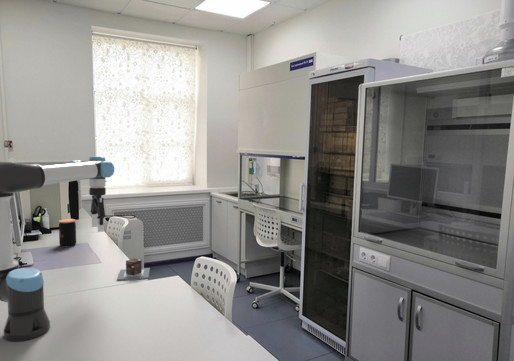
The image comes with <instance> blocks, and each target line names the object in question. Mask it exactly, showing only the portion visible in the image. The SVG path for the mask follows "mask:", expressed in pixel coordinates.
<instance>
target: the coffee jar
mask: <svg viewBox="0 0 514 361" xmlns="http://www.w3.org/2000/svg"><path fill="white" fill-rule="evenodd" d="M58 223H59V224H58V237H59V238H58V239H59V243H58V244H59V245H60V247H61V246H70V247H74V246H76V244H77V224H76V219H74V218H65V219H60V220H58ZM73 245H74V246H73Z"/></svg>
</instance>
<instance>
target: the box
mask: <svg viewBox="0 0 514 361" xmlns="http://www.w3.org/2000/svg"><path fill="white" fill-rule="evenodd" d="M142 261H143V260H142V259H140V258H135V257H133V258H130V259H128V260H125V269H126V274H129V275H136V274H139V273H141V272H142Z"/></svg>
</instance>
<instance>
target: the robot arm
mask: <svg viewBox="0 0 514 361" xmlns="http://www.w3.org/2000/svg"><path fill="white" fill-rule="evenodd" d="M114 173H115V165H114V163H112V162H111V161H108V160H107V161H106V157H105V156H95V155H94V156H93V155H92V156H89V158H88V159H85V160H84V159H83V160H82V159H81V160H80V159H73V160H70V161H68V163H62V164H61V163H60V164H50V165H48V164H47V165H41V164H39V163H22V162H21V163H20V162H12V161H11V162H10V161H0V302H4V303H7V314H8V315H7V318H6V322H5V324H4V325H5V326H4V327H3V338H4V339H5V340H6V341H9V342H24V341H28V340H31V339H36V338H38V337H40V336H42V335H44V334H46V333H47V332H48V331H49V330H50V328H51V321H50V318H49V316H48V314H47V312H46V310H45V298H44V296H45V295H44V276H43V273H42V272H41V271H40V270H39V269H38V268H32V267H28V268H27V267H21V268H20V266H19V262H18V261H17V260H16V259H15V258H14V245H13V243H14V242H13V233H12V220H11V219H12V218H11V216H12V215H11V203H10V201H11V199H12V198H13V197H14V196H15V195H14V193H21V192H25V191H26V192H27V191H32V190H35V189H41V188H43V187H44V186H47V185H54V184H59V183H67V182H73V181H74V182H75V181H76V182H77V181H83V180H88V179H89V180H88V183H89V184H88V186H89V190H88V191H89V196H91V203H90V204H91V206H90V213H91V228H97V232H98V233H99V232H105V218H106V213H105V205H104V201H105V200H104V197H102V196H105V195H106V194H107V193H106V190H107V188H106V185H107V184H106V183H107V182H108V181H107V180H106V178H111V177H112V176H113V175H114Z"/></svg>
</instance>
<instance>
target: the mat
mask: <svg viewBox="0 0 514 361" xmlns="http://www.w3.org/2000/svg"><path fill="white" fill-rule="evenodd" d="M150 269H151V268H150V267H143V268H142V272H141V273H139V274H136V275H129V274H126V268H125V269H124V268H122V269H120V271H119V272H118V275H117V278H116V281H117V282H119V281H120V282H121V281H134V280H136V281H137V280H149V277H150Z"/></svg>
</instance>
